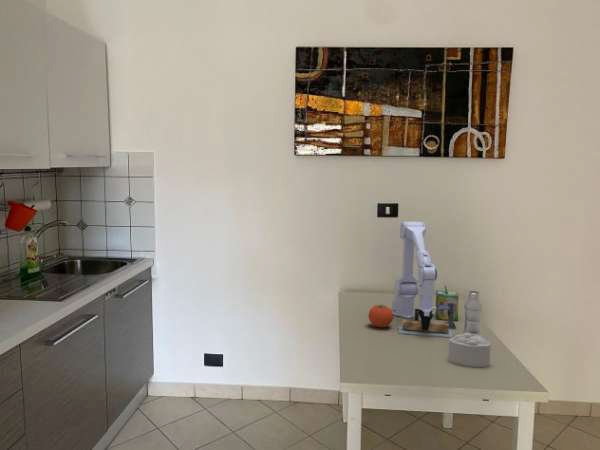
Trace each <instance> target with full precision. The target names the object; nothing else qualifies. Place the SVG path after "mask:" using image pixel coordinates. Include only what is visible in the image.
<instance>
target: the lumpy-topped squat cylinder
mask: <svg viewBox="0 0 600 450" xmlns="http://www.w3.org/2000/svg"><path fill="white" fill-rule="evenodd" d="M448 339H449V340H448V352H447V353H448V355H447V358H448V359H447V360H448V361H449V362H450V363H453V364H457V365H460V366H465V367H471V368H472V367H473V368H474V367H479V368H482V367H483V368H484V367H489V366H490V359H491V356H490V355H491V343H490V342H488V341H487V339H486V338H484V337H482V335H480V336H479V335H475V336H471V334H469V333H463V332H462V333H461V334H456V335H455V336H453V337H452V338H448Z"/></svg>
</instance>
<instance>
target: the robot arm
mask: <svg viewBox="0 0 600 450" xmlns="http://www.w3.org/2000/svg"><path fill="white" fill-rule="evenodd" d="M426 231H427V227H426V224H425V222H424V221H402V222H401V224H400V226H399V237H400V239H402V243H403V244H402V247H403V249H402V271H401V272H402V273H401V274H400V275H399V276H398V277H396V278H395V284H394V293H395V294H394V295H393V297H392V302H391V311H392V313H393V316H397V317H401V318H406V319H411V318H414V316H415V298H416V296H417V295H418V294H419V295H418V305H417V309H418V312H419V318H420V320H421V323H422V329H423V330H428V328H429V324H430V322H432V321H431V320H432V319H433V317H434V313H433V310H436V306H434V302H435V301H434V296H435V281H437V279H438V269H437V267H436V266H435V264H433V263H432V258H431V255H430V252H429V251H427V250H426V244H425V240H424V239H425V238H424V237H425V234H426ZM415 251H416V254H415ZM414 257H415V259H414ZM414 260H416V263H417V267H418V269H417V278H416V277H415V276H414V264H415V262H414Z"/></svg>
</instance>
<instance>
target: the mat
mask: <svg viewBox="0 0 600 450" xmlns="http://www.w3.org/2000/svg"><path fill="white" fill-rule="evenodd" d="M397 327H398V335H406V336H407V335H408V336H409V335H410V336H420V337H421V336H422V337H435V338H443V339H447V338H448V339H450V338H452V337H454V336H453V333H452V329H449V333H444V332H431V331H419V330H406V329H403V325H398V326H397Z"/></svg>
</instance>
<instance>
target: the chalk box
mask: <svg viewBox="0 0 600 450" xmlns="http://www.w3.org/2000/svg"><path fill="white" fill-rule="evenodd" d="M444 288H445V289H444V290H436V292H435V307H436V309H435V312H434V313H435V318H436V320H439V321H440V320H442V321H448V311H452V314H453V321H456V322H458V321H459V294H458V292H456V291H450V290H448V289H447V286H446V285H444Z"/></svg>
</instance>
